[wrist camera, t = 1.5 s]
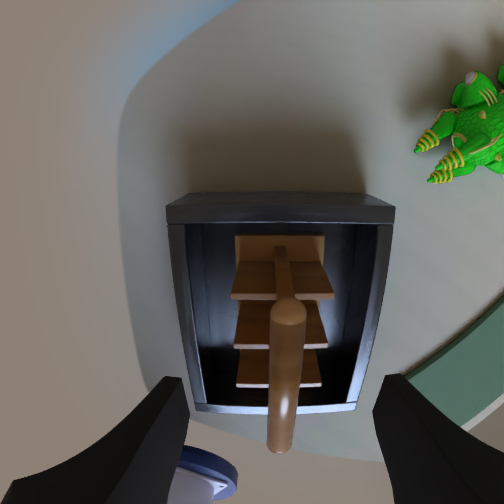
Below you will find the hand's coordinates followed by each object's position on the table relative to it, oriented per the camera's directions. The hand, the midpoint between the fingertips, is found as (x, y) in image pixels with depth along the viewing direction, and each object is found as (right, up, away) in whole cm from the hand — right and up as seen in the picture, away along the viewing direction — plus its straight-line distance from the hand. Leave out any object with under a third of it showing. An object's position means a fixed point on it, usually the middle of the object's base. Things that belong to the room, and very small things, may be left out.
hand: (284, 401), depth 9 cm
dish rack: (0, +2, +7) cm, 7 cm away
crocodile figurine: (+15, +14, +3) cm, 21 cm away
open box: (0, +3, +8) cm, 8 cm away
